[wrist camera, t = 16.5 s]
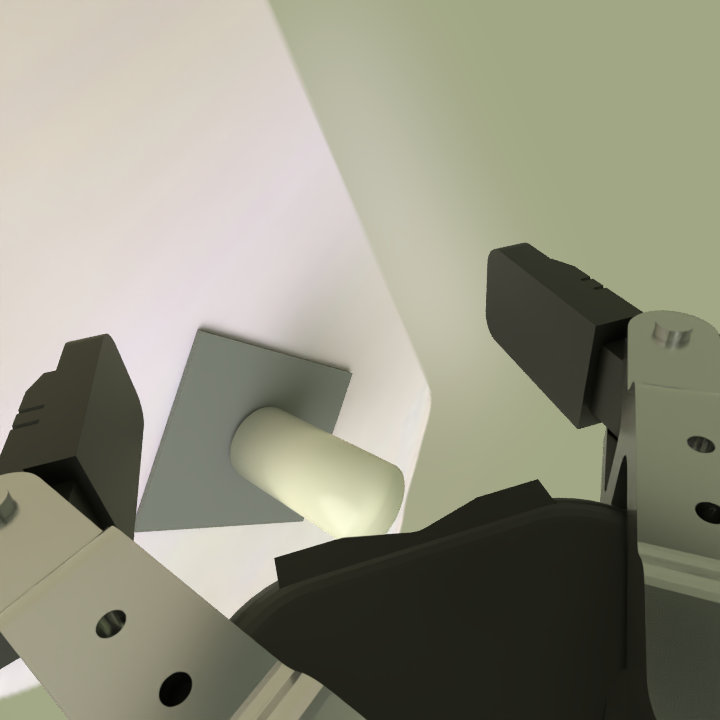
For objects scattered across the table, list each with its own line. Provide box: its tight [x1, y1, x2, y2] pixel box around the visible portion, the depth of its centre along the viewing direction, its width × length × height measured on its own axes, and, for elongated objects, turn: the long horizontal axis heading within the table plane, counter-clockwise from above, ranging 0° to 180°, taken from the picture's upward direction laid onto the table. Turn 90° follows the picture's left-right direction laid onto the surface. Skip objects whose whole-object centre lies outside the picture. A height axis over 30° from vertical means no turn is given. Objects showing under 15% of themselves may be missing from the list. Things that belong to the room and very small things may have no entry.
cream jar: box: [230, 407, 405, 539], centre depth 33 cm, size 5×5×10 cm
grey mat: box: [134, 330, 352, 532], centre depth 36 cm, size 12×14×1 cm
